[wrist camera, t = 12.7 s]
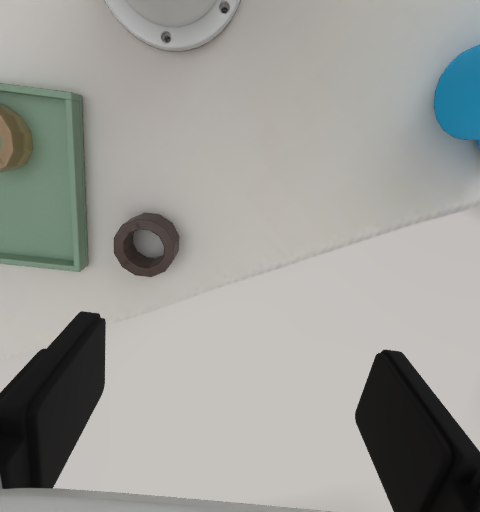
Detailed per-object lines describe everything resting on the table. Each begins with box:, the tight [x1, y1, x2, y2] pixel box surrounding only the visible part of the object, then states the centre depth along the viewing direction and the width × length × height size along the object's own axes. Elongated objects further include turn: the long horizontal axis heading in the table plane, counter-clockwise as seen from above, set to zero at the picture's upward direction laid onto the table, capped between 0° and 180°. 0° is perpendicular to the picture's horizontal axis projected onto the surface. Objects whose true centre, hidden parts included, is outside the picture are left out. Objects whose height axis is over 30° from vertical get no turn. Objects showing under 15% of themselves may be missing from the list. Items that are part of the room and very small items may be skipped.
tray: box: [0, 83, 88, 272], centre depth 32 cm, size 17×15×2 cm
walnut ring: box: [114, 213, 179, 277], centre depth 34 cm, size 6×6×3 cm
